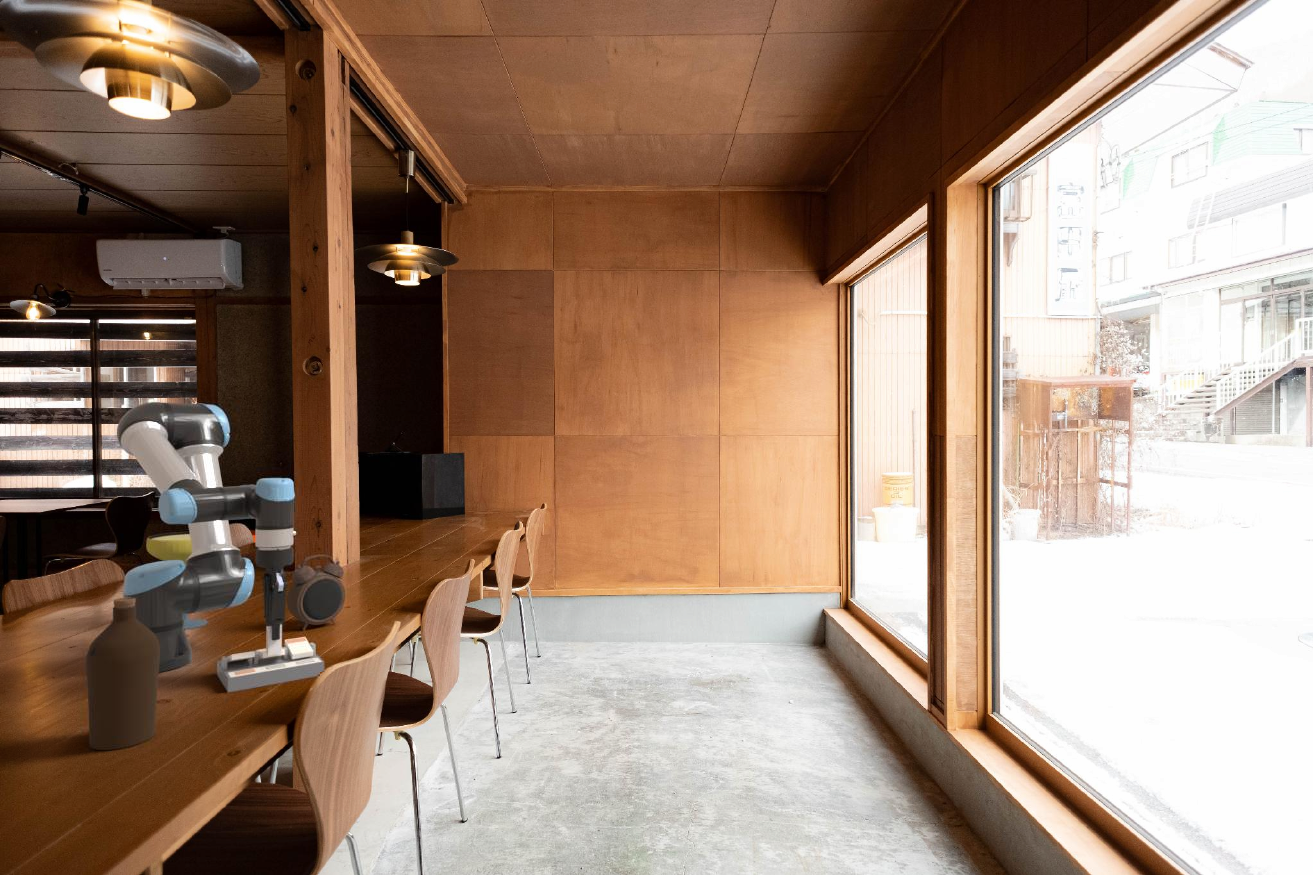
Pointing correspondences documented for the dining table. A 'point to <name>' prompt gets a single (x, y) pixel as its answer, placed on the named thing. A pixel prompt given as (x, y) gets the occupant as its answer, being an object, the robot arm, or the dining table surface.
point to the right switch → (298, 648)
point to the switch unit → (267, 670)
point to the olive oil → (122, 681)
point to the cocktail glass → (174, 558)
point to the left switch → (240, 656)
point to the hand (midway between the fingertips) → (273, 653)
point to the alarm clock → (316, 593)
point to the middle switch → (263, 653)
